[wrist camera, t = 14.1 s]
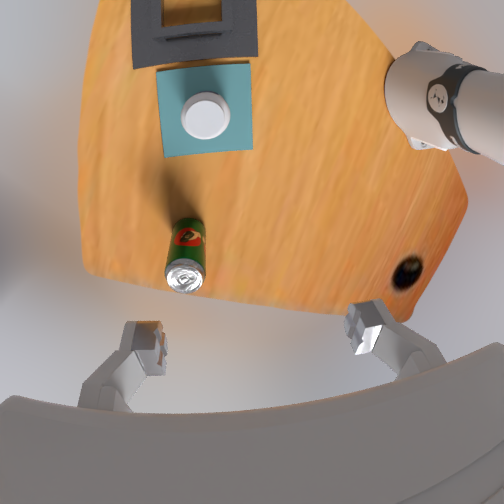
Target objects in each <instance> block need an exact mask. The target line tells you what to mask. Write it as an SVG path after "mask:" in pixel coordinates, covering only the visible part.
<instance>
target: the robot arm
mask: <svg viewBox="0 0 504 504" xmlns="http://www.w3.org/2000/svg"><path fill="white" fill-rule="evenodd" d="M385 99H386V104H387V107H388V110H389V113H390V115H391V117H392V118H393V120H394V122H395V123H396V124H397V125H398V126H399V127H400V128H401V129H402V130H403V132H404V133H405V134H406V136H407V139H408V142H409V144H410V146H411V147H412V148H413V149H416V150H422V149H429V148H438V149H441V150H444V151H447V149H454V148H458V147H459V148H461V149H462V150H465V151H467V152H471V153H474V154H482V155H484V156H486V157H488V158H490V159H492V160H494V161H496V162H497V163H499V164H501V165H503V166H504V74H500V73H494V72H489V71H487V70H486V69H484V68H482V67H478V66H475V65H472V64H470V63H468V62H464V61H463V62H462V58H460V57H458V56H454V54H451V53H446V52H440V51H439V50H437V49H435V48H434V47H432V46H431V45H429V44H427V43H425V42H421V41H418V42H416V43H415V45H414V46H413V47H412V49H411V51H409V52H408V53H406V54H404V55H402V56H400V57H399V58H397V59H396V60H395V61H394V62H393V64H392V65H391V67H390V69H389V71H388V73H387V76H386V81H385ZM421 142H422V143H421ZM348 311H349V313H348V314H347V315H346V316H345V320H344V328H345V332H346V335H347V336H348V337H349V338H351V339H352V341H351V346H352V348H353V351H354V353H355V355H357V354H362V353H367V352H372V353H373V354H374V355H375V356H376V357H378V358H379V359H380V360H381V361H382V362H384V363H385V364H386V365H387V366H389V367H390V368H391V369H392V370H393V371H394V372H396V373H397V374H398V376H397V377H396V379H395V381H393V382H390V383H387V384H383V385H380V386H376V387H373V388H369V389H365V390H361V391H357V392H353V393H349V394H344V395H340V396H335V397H330V398H325V399H321V400H315V401H310V402H304V403H298V404H292V405H285V406H278V407H271V408H263V409H254V410H244V411H233V412H216V413H191V414H155V413H133V412H132V410H131V409H130V408H129V406H128V405H127V404H128V402H129V401H130V400H131V398H132V397H133V396H134V394H135V393H136V391H137V390H138V388H139V387H140V385H141V384H142V383H143V382H144V380H145V379H146V378H147V376H161V375H165V373H166V360H165V358H164V357H165V356H166V355H167V350H168V347H167V339H166V335H165V333H163V332H162V329H163V326H162V323H161V321H127V322H126V324H125V326H124V330H123V335H122V339H121V343H120V348H119V350H117V351H115V352H114V353H113V354H112V355H111V356H110V357H109V358H108V359H107V360H106V361H105V362H104V363H103V364H102V365H101V366H100V367H99V368H98V369H97V370H96V371H95V372H94V373H93V374H92V375H91V376H90V377H89V378H88V379H87V380H86V381H85V382H84V383H83V385H82V389H81V393H80V397H79V402H78V406H77V407H73V406H66V405H61V404H55V403H49V402H44V401H39V400H34V399H29V398H25V397H21V396H16V395H13V396H10V397H9V398H7V399H6V400H5V401H4V402H2V403H1V404H0V504H504V345H502V344H500V343H498V342H496V343H492V344H490V345H487V346H485V347H483V348H481V349H479V350H477V351H474V352H472V353H470V354H468V355H465V356H463V357H460V358H458V359H456V360H453V361H451V362H448V363H447V362H446V361H445V359H444V357H443V355H442V354H441V352H440V351H439V349H438V347H437V345H436V344H434V343H432V342H431V341H429V340H428V339H426V338H424V337H423V336H421V335H419V334H418V333H416V332H414V331H413V330H411V329H409V328H408V327H406V326H404V325H403V324H401V323H399V322H395V320H394V318H393V317H392V315H391V314H390V312H389V310H388V309H387V307H386V306H385V304H384V302H383V301H382V299H380V298H378V299H372V300H366V301H360V302H354V303H350V304H349V306H348Z"/></svg>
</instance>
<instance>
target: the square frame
mask: <svg viewBox="0 0 504 504" xmlns="http://www.w3.org/2000/svg"><path fill="white" fill-rule="evenodd" d="M221 19H222V21H219V22H205V23H194V24H185V25H177V26H170V27H164V4H163V0H131V35H132V58H133V69H139V68H144V67H150V66H156V65H162V64H169V63H176V62H184V61H192V60H202V59H215V58H232V57H258V38H257V7H256V0H221ZM212 33H218V34H212ZM200 34H204V35H200ZM190 35H193V36H190ZM181 36H184V37H181ZM174 37H177V38H174ZM167 38H169V39H167Z"/></svg>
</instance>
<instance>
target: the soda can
mask: <svg viewBox="0 0 504 504" xmlns="http://www.w3.org/2000/svg"><path fill="white" fill-rule="evenodd" d="M205 276H206V231H205V228H204V226H203V224H202V223H201V222H199V221H198V220H196V219H193V218H185V219H182V220H180V221H178V222H177V223H176V224H175V226H174V228H173V232H172V236H171V241H170V246H169V251H168V257H167V262H166V267H165V278H166V280H167V282H168V285H169V286H170V287H171V288H172V289H173V290H174V291H176V292H179V293H184V294H188V293H192V292H195V291H196V290H198V289H199V288H200V286H201V285H202V283H203V282H204V280H205Z"/></svg>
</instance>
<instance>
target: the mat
mask: <svg viewBox="0 0 504 504" xmlns="http://www.w3.org/2000/svg"><path fill="white" fill-rule="evenodd" d="M156 77H157V90H158V102H159V113H160V123H161V132H162V141H163V149H164V157H165V158H166V157H174V156H182V155H191V154H201V153H211V152H223V151H237V150H253V139H252V104H251V70H250V64H228V65H212V66H201V67H191V68H182V69H174V70H167V71H161V72H156ZM201 91H213V92H216V93H218V94H219V95H221V96H222V97H223V98H224V100H225V101H226V102H227V104H228V106H229V109H230V121H229V124H228V126H227V128H226V129H225V130H224V131H223V132H222V133H221V134H220V135H218V136H217V137H214V138H211V139H198V138H195V137H193V136H191V135H190V134H188V133H187V132H186V131H185V129H184V128H183V126H182V123H181V111H182V108H183V106H184V104H185V103H186V101H187V100H188V99H189V98H190V97H192V96H193V95H194V94H196V93H198V92H201Z"/></svg>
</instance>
